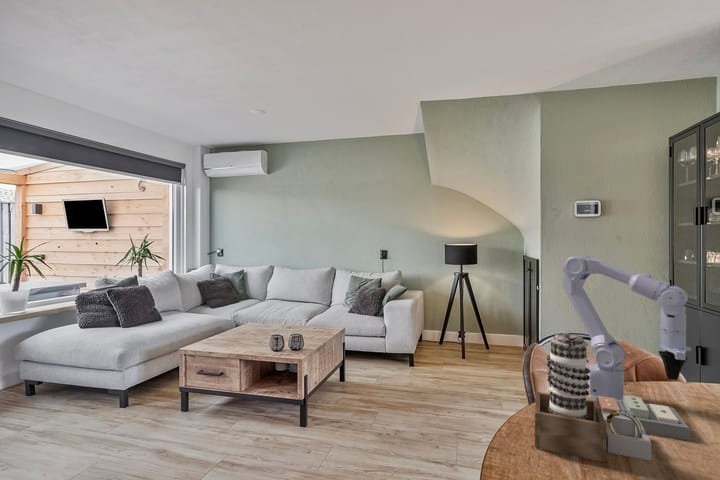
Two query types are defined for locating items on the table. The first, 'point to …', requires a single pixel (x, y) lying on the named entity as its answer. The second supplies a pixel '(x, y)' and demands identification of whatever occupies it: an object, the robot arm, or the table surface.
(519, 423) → the table surface
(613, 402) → the tile two terracotta
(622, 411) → the ring
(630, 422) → the bracelet dish
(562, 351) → the decorative candle
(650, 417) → the button board
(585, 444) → the box
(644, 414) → the tile three sage
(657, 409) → the tile one cream
